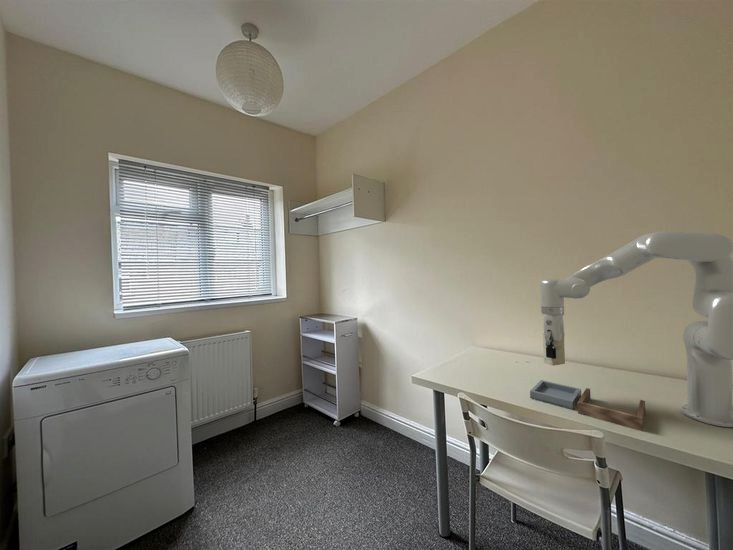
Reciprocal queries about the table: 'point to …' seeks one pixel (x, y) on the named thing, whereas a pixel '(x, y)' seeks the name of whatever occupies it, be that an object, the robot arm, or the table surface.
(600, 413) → the frame
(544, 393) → the tray
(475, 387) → the table surface
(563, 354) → the skincare box
